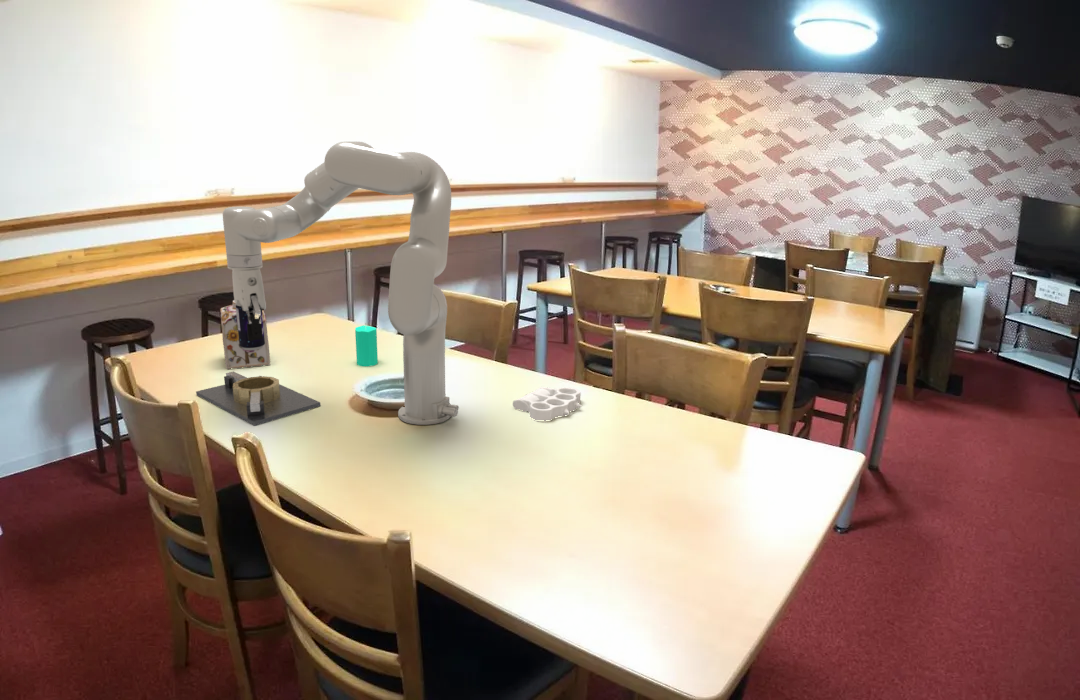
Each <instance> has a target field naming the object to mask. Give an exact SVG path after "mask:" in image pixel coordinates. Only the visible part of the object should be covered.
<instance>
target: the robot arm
mask: <svg viewBox="0 0 1080 700" xmlns="http://www.w3.org/2000/svg"><path fill="white" fill-rule="evenodd" d="M358 189H362V190H366V191H372V192H376V193H381V194H384V195H385V194H386V195H390V196H405V195H409V194H412V195H413V204H412V207H411V208H412V209H411V212H410V218H409V219H410V220H409V221H410V222H409V223H410V226H409V232H408V233H409V235H408V240H407V241H406V242H404V243H402V244H401V245H400V246H399V247H398V248H397V249H396V250H395V252H394V254H393V256H392V258H391V259H392V260H391V263H390V269H389V270H390V272H389V287H388V288H389V289H388V301H387V313H388V319H389V322H390V323H391V325H392V327H393V328H394V330H396V332H398V333H399V334H402V335H403V337H402V338H403V339H402V340H403V341H402V345H403V347H402V352H403V353H402V354H403V355H402V356H403V358H402V360H403V388H404V389H403V392H404V393H403V394H404V406H405V407H403V406H401V407H400V408H399V409H398V412H397V414H398V418H399V419H400V421H402V422H404V423H407V424H411V425H418V426H419V425H420V426H421V425H423V426H428V425H429V426H430V425H434V424H436V425H437V424H440V423H443V422H444V423H445V422H446V421H448V420H449V419H450V418H451V417H455V418H456V417H457V416H458V414H459V409H460V406H459V405H458V404H457V405H456V404H452V403H450V397H449V396H446V327H447V316H448V301H447V299H446V295H445V294H444V292H443V291H442V290H443V289H441V288H440V287H438V285H436V284H435V278H437V277H439V276H440V275H441V274H442V273H443V272H444V270H445V269H446V268H447V263H448V250H449V240H450V239H449V237H450V222H451V210H452V188H451V184H450V180H449V177H448V175H447V173H446V171H445V170H444V169H443V168H442V167H441V165H439V163H438V162H437V161H435V160H434V159H432V158H431V157H430V156H428V155H426V154H424V153H420V152H415V151H405V152H404V151H403V152H395V151H388V150H383V149H377V148H374V147H372V145H371V144H369V143H366V142H365V141H364V142H363V141H340V142H337V143H334V144H333V145H332V146H331V147H329V149H328V151H327V152H326V154H325V156H324V161H323V163H321V164H319V165H318V166H317V167H315V168H314V169H313V170H311V171H310V172H309V173H307V174H306V175H305V177H304V188H303V189H302V190H301V191H300V192H299V193H297V194H296V195H294V196H293V197H292V198H291V199H289V200H288V201H286V202H285V203H283V204H282V205H277V206H271V207H267V208H266V207H264V208H259V209H256V208H255V207H252V206H229V207H227V208H224V209H223V211H222V221H223V222H222V223H223V235H224V243H225V253H226V254H225V255H226V262H227V263H226V264H227V269H228V270H232V272H231V276H232V291H233V301H234V300H235V304H236V303H237V300H238V301H239V303H240V305H241V307H242V310H243V311H245V312H246V314H247V320H248V324H247V333H248V340H249V341H252V340H259V339H262V338H263V335H262V323H261V316H260V315H261V310H264V311H265V310H266V309H267V303H266V294H265V288H264V287H265V286H264V281H263V276H262V275H263V274H262V271H261V269H262V268H263V255H262V245H261V243H265V244H269V243H276V242H279V241H282V240H286V239H289V238H293V237H295V236H297V235H299V234H301V233H302V232H304V231H305V230H306V229H308V228H309V227H311V226H312V225H313V224H315V223H317V221H319V220H320V219H322V218H323V217H324V216H325V215H326V214H327V213H328V212H329V211H330V210H331V209H332V208H333V207H334V206H336V205H337V204H338V203H340V202H341V201H343V200H344V199H346V198H347V197H348V196H350V195H351V194H353V193H354V192H355V191H357V190H358ZM258 303H259V304H258ZM259 305H260V307H259ZM248 308H253V310H250V311H249V309H248ZM260 308H261V310H260ZM250 313H253V314H252V315H251V316H250Z"/></svg>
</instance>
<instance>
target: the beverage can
mask: <svg viewBox="0 0 1080 700" xmlns="http://www.w3.org/2000/svg"><path fill="white" fill-rule="evenodd" d="M258 304H259V303H258ZM259 307H260V305H259ZM248 309H249V311H250V310H253V308H248ZM260 310H261V308H260ZM236 314H237V325H238V335H239V345H240V346H241V347H242V348H243V349H244V350H258V349H261V348H262V346H263V345H264V344H265V338H264V326H263V314H262V310H261V315H260V316H261V323H262V335H263V338H262V339H259V340H252V341H249V340H248V333H247V324H248V320H247V314H246V312H245V311H243V310H242V307H241V305H240V303H239V301H238V300H237V303H236ZM252 314H253V313H250V316H251V315H252Z"/></svg>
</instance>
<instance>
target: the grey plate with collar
mask: <svg viewBox="0 0 1080 700" xmlns="http://www.w3.org/2000/svg"><path fill="white" fill-rule="evenodd" d="M223 379H224V384H221V385H217V386H212V387H209V388H204V389H201V390H197V391H195V393H196V397H199V398H201V399H203V400H205V401H206V402H209V403H211V404H213V405H214V406H216V407H218V408H220V409H221V410H223V411H225V412H227V413H229V414H230V415H233V416H234V417H236V418H238V419H241V420H242V421H244V422H246V423H248V424H250V425H251V426H253V427H255V426H258V425H263V424H265V423H269V422H273V421H275V420H279V419H282V418H285V417H288V416H292V414H293V415H296V414H299V413H301V412H302V411H303V412H305V411H309V409H310V410H313V409H315V408H319V407H321V406H322V405H321V402H320V401H318V400H316V399H315V398H312V397H309V396H307V395H304V394H303V393H301V392H298V391H296V390H293V389H291V388H289V387H287V386H284V385H282V384H280V379H278V378H277V377H276V378H275V377H274V376H267V375H266V376H265V375H264V376H263V375H259V376H249V377H247V376H244V375H242V374H241V373H238V372H236V371H234V370H233V371H229V372H226V373H225V375H224V376H223ZM272 420H273V421H272Z"/></svg>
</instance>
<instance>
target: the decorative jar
mask: <svg viewBox="0 0 1080 700" xmlns="http://www.w3.org/2000/svg"><path fill="white" fill-rule="evenodd" d="M262 314H263V326H264V338H265V344H264V345H263V346H262V348H261V349H258V350H244V349H243V348H242V347H241V346H240V345H239V335H238V325H237V314H236V304H235V300H234V299H233V300H232V304H230V305H227V306H224V307H221V308H220V309H219V316H220V324H221V327H220V328H221V333H222V334H221V335H222V345H223V352H224V354H223V355H224V361H225V368H226V369H227V370H232V369H231V368H237V369H243V368H242V367H247V368H252V367H251V366H257V367H262V366H261V365H267V366H270V365H271V356H270V354H271V353H270V345H269V336H268V325H267V316H266V313H265V310H262Z"/></svg>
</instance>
